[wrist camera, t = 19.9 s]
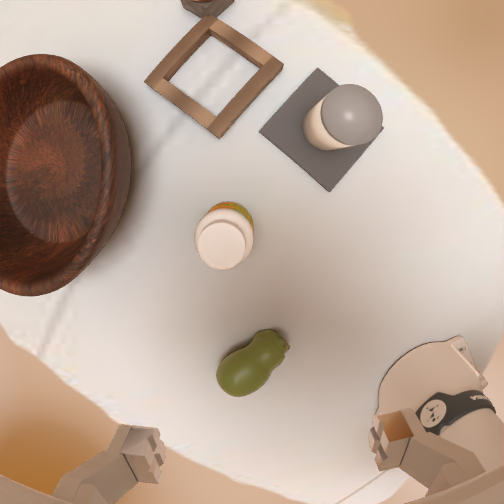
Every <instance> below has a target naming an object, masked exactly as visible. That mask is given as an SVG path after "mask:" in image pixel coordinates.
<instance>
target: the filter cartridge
mask: <svg viewBox="0 0 504 504" xmlns="http://www.w3.org/2000/svg"><path fill="white" fill-rule="evenodd" d="M382 121H383V115H382V110H381V106H380V104H379V102H378V101H377V99H376V98H375V96H374V95H373V94H372V93H371V92H369V91H368V90H367V89H365V88H363V87H361V86H358V85H354V84H345V85H341V86H338V87H336V88H335V89H333V90H332V91H331V92H330V93H329V94H327V95H326V96H325V97H324V98H323V99H322V100H321V101H320V102H319V103H317V104H316V105H315V106H314V107H313V108H312V109H311V110H310V111H309V112H308V113H307V114H306V115H305V117H304V120H303V123H302V130H303V134H304V136H305V138H306V140H307V141H308V142H309V143H310V144H311V145H312V146H313V147H315V148H317V149H319V150H325V151H328V150H334V149H339V148H344V147H349V146H355V145H360V144H364V143H367V142H369V141H371V140H372V139H374V138H375V137H376V136H377V134H378V133H379V131H380V129H381V126H382Z"/></svg>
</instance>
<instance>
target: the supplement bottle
mask: <svg viewBox="0 0 504 504" xmlns="http://www.w3.org/2000/svg"><path fill="white" fill-rule="evenodd" d="M194 238H195V246H196V249H197V251H198V253H199V256H200V257H201V259H202V260H203V262H204V263H206V264H207V265H208V266H210V267H212V268H214V269H218V270H225V269H230V268H232V267H234V266H236V265H237V264H239V263H241V262H242V261H244V260H245V259H246V258H247V256H248V255H249V254H250V252H251V250H252V247H253V242H254V233H253V221H252V218H251V216H250V214H249V212H248V211H247V210H246V209H245V208H244V207H243V206H241V205H240V204H237V203H234V202H222V203H219V204H217V205H215V206H214V207H212V208H211V209H210V210H209V211H208V212H207V214H206V215H205V216H204V217H203V218H202V219H201V220H200V222H199V223H198V225H197V227H196V230H195V237H194Z"/></svg>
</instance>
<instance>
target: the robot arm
mask: <svg viewBox="0 0 504 504" xmlns="http://www.w3.org/2000/svg"><path fill="white" fill-rule="evenodd" d="M487 384H488V383H487V381H486V379H485V378H484V377H483V376H482V374H481V373H480V372H479V371H478V372H477V371H476V368H475V365H474V362H473V360H472V357H471V355H470V352H469V350H468V347H467V345H466V342H465V340H464V339H463V338H462V337H461V336H457V337H454V338H452V339H450V340H448V341H445V342H434V343H428V344H425V345H422V346H419V347H417V348H415V349H413V350H412V351H410V352H409V353H407V354H406V355H404V356H403V357H402V358H401V359H400V360H398V361H397V362H396V363H395V364H394V365H393V367H392V368H391V369H390V370H389V371H388V373H387V374H386V376H385V378H384V379H383V381H382V383H381V386H380V389H379V395H378V399H379V408H378V410H377V412H376V414H375V415H374V417H373V420H372V423H373V427H372V428H371V429H370V433H369V443H370V447H371V450H372V452H374V453H376V457H375V461H376V464H377V466H378V469H379V471H383V470H388V469H392V468H396V467H400V468H401V469H402V470H403V471H405V472H406V473H407V474H409V475H410V476H412V477H413V478H414V479H416V480H417V481H418V482H420V483H421V484H423V485H424V486H425V487H427V488H428V489H429V490H428V492H427V494H426V495H425V497H424V498H421V499H418V500H415V501H412V502H408V503H405V504H504V423H503V422H502V421H501V420H500V419H499V418H498V416H497V415H496V411H495V408H494V407H493V405H492V403H491V401H490V400H489V399H488V398H487V397H486V396H485V395H484V394H483V392H482V389H484V388H485V387H486V386H487ZM159 438H160V432H159V430H158V429H157V428H152V427H143V426H134V425H125V424H121V425H120V426H119V427H118V429H117V431H116V433H115V435H114V438H113V440H112V442H111V444H110V446H109V448H108V450H107V451H103V452H101V453H100V454H98V455H96V456H95V457H93V458H92V459H90V460H88V461H86V462H85V463H83V464H82V465H80V466H78V467H77V468H75V469H73V470H71V471H70V472H68V473H66V474H64V475H63V476H62V478H61V480H60V481H59V483H58V485H57V487H56V489H55V491H54V493H53V495H52V496H50V495H47V494H45V493H42V492H40V491H37V490H34V489H32V488H30V487H27V486H25V485H22V484H20V483H18V482H15V481H13V480H11V479H9V478H6V477H5V476H2V475H0V504H115V503H116V502H117V501H118V500H119V499H120V498H122V497H123V496H124V495H125V494H126V493H127V492H128V491H129V490H131V489H132V488H133V487H134V486H135V485H136V484H137V483H138V482H145V483H155V484H158V483H159V479H160V475H161V469H160V466H161V465H162V464H164V461H165V446H164V443H163V441H161V440H160V439H159Z"/></svg>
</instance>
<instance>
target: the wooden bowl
mask: <svg viewBox="0 0 504 504" xmlns="http://www.w3.org/2000/svg"><path fill="white" fill-rule="evenodd" d="M130 177H131V152H130V144H129V140H128V135H127V132H126V128H125V125H124V122H123V120H122V117H121V115H120V113H119V111H118V109H117V107H116V105H115V104H114V102H113V101H112V99H111V98H110V96H109V95H108V94H107V92H106V91H105V90H104V89H103V88H102V87H101V86H100V85H99V84H98V82H97V81H96V80H94V79H93V78H92V77H91V76H90V75H89V74H88V73H87V72H86V71H84V70H83V69H82V68H81V67H79V66H78V65H76V64H75V63H73V62H71V61H70V60H67V59H65V58H63V57H59V56H55V55H48V54H34V55H28V56H24V57H21V58H18V59H15V60H13V61H11V62H9V63H7V64H5V65H4V66H2V67H1V68H0V289H2V290H4V291H6V292H9V293H12V294H15V295H20V296H39V295H43V294H48V293H51V292H53V291H56V290H58V289H60V288H62V287H64V286H65V285H67V284H68V283H69V282H71V281H72V280H73V279H74V278H76V277H77V276H78V275H79V274H80V273H81V272H82V271H83V270H84V269H85V268H86V267H87V266H88V265H89V263H90V262H91V261H92V260H93V259H94V258H95V257H96V255H97V254H98V253H99V252H100V251H101V249H102V248H103V247H104V245H105V244H106V243H107V241H108V240H109V238H110V236H111V235H112V233H113V231H114V230H115V228H116V226H117V224H118V222H119V219H120V217H121V214H122V212H123V209H124V206H125V203H126V199H127V196H128V191H129V186H130Z"/></svg>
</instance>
